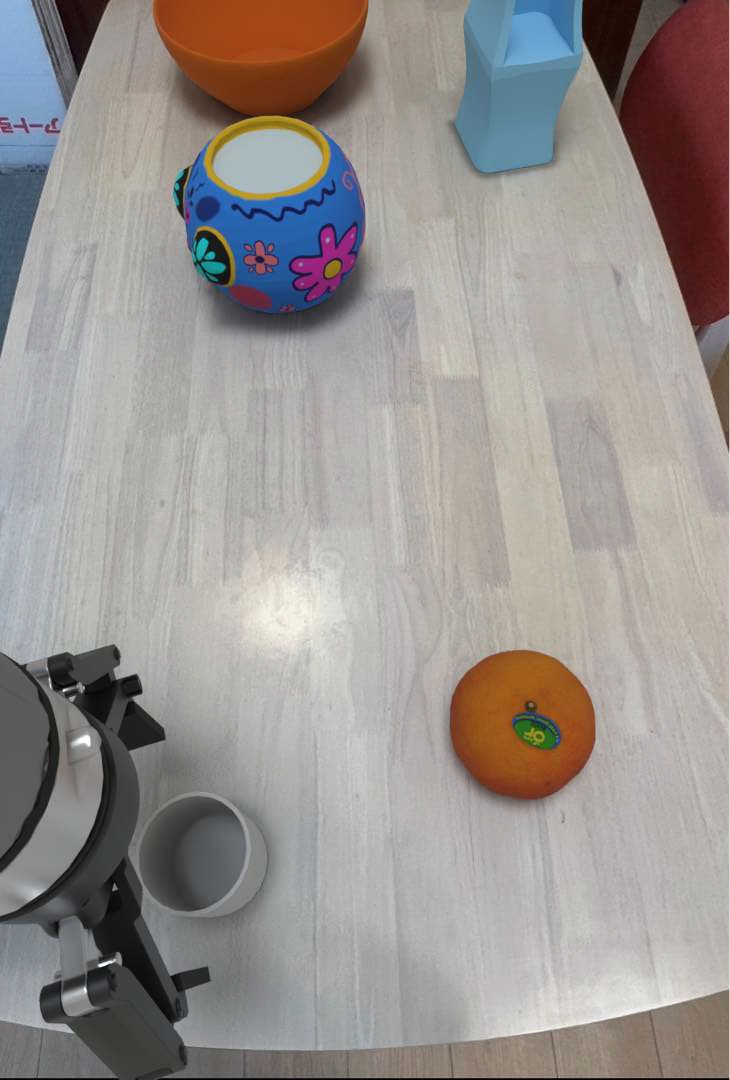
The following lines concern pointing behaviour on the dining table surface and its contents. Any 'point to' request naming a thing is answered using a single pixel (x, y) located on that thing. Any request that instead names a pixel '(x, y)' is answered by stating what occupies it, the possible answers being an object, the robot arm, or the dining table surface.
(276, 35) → the bowl
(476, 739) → the fruit
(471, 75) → the vase
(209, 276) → the ceramic pot
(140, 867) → the cup
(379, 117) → the dining table surface
